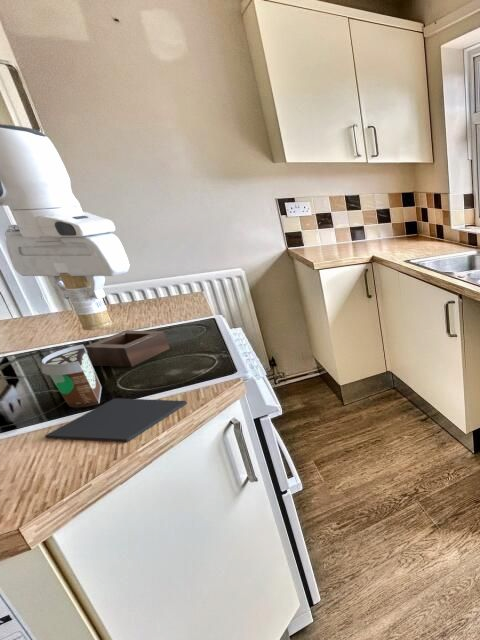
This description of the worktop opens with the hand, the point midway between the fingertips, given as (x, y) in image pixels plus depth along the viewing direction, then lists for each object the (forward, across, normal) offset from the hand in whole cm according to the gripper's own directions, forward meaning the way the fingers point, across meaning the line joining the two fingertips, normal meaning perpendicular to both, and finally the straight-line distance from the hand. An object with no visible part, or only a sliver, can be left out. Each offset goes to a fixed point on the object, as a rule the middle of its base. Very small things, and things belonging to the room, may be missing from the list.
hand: (85, 298), depth 81 cm
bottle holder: (+21, -16, +18) cm, 32 cm away
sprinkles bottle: (+6, 0, 0) cm, 6 cm away
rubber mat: (+21, +8, -9) cm, 25 cm away
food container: (+21, -7, -3) cm, 23 cm away
